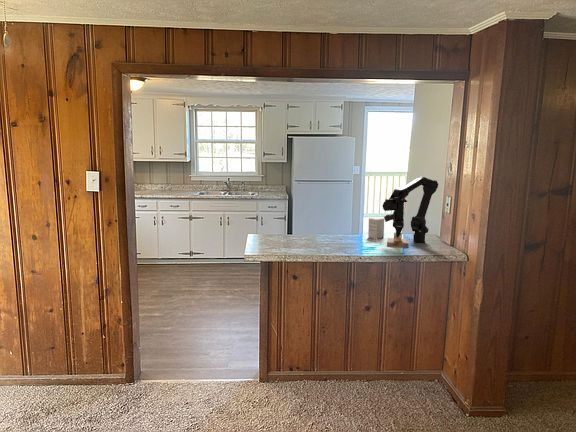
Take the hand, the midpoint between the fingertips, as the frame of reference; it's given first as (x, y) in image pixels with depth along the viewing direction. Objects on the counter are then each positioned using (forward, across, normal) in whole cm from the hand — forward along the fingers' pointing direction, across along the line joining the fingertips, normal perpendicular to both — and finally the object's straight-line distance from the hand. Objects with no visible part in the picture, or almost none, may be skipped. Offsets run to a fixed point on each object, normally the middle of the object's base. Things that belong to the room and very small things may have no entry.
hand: (397, 235), depth 249 cm
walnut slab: (+6, 0, 0) cm, 6 cm away
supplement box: (+6, -19, -14) cm, 24 cm away
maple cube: (+3, 0, 0) cm, 3 cm away
